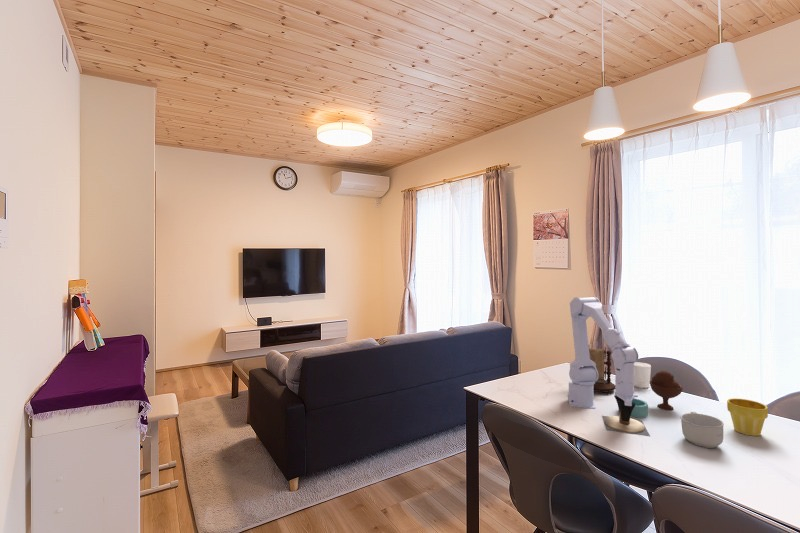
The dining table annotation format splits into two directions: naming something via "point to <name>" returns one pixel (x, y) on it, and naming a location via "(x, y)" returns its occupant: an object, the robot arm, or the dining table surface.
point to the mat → (625, 432)
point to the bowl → (639, 409)
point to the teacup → (702, 429)
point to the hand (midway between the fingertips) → (624, 418)
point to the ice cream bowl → (665, 388)
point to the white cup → (642, 374)
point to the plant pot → (747, 415)
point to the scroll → (602, 370)
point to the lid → (624, 424)
